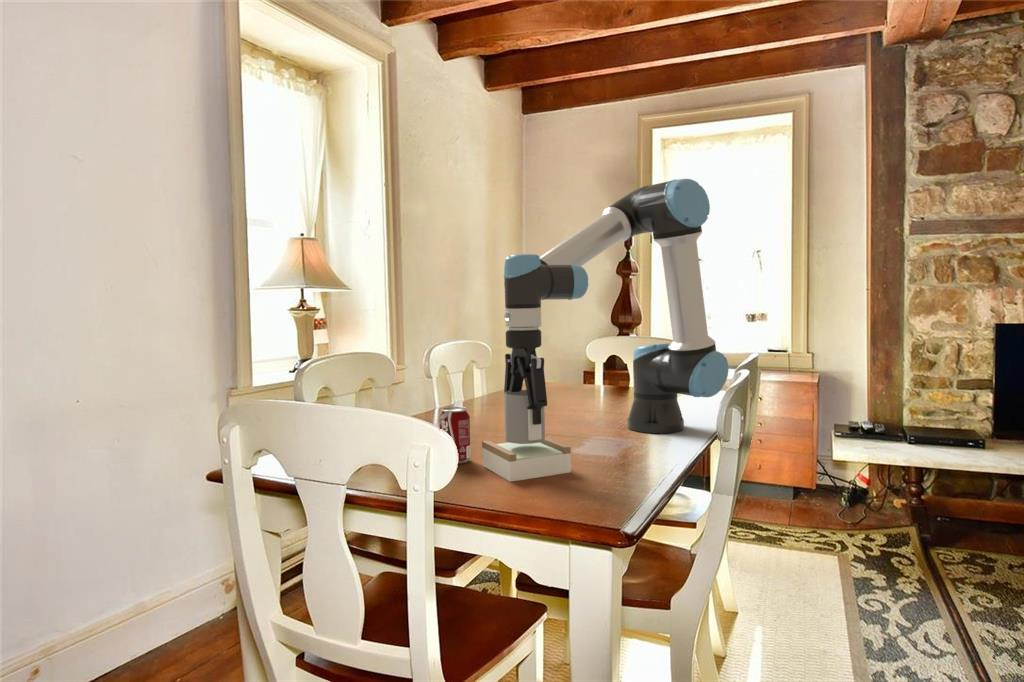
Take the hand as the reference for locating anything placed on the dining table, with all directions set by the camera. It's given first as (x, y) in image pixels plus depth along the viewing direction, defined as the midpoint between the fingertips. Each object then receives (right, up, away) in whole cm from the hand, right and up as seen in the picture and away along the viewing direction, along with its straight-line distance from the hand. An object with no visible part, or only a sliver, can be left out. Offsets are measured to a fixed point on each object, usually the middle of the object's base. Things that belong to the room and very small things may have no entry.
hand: (525, 435), depth 136 cm
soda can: (-15, -7, +7) cm, 19 cm away
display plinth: (0, -7, 0) cm, 7 cm away
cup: (0, -1, 0) cm, 1 cm away
